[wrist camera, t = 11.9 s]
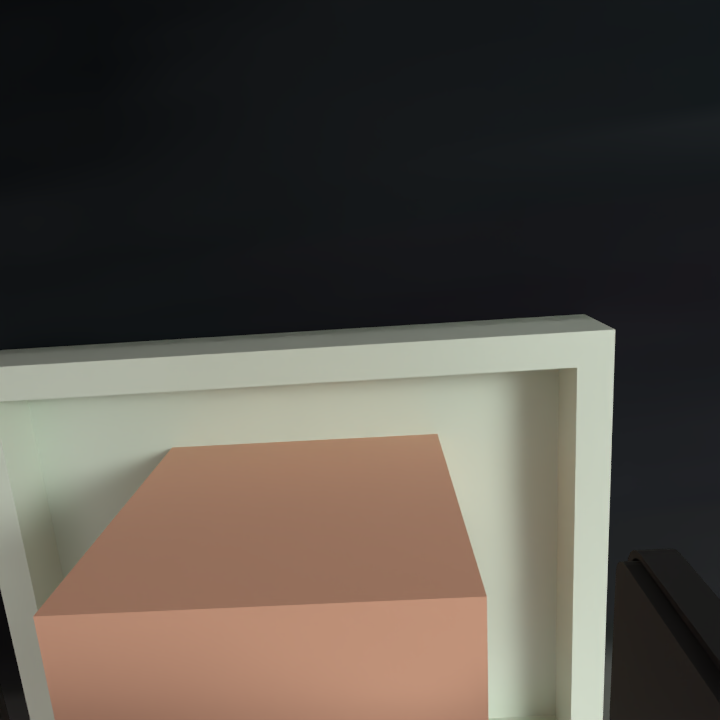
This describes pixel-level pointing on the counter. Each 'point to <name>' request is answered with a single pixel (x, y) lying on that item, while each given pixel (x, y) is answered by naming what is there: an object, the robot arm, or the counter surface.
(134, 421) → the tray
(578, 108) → the counter surface
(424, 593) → the light orange cube
